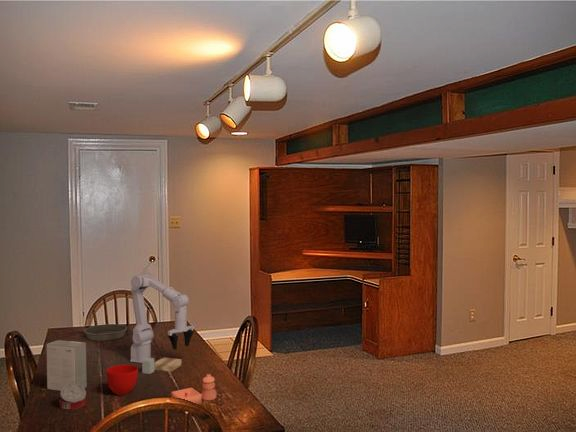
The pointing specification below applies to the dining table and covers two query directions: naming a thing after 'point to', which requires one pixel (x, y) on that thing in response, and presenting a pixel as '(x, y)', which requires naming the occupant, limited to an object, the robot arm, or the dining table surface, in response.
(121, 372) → the ceramic cup
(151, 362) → the gray block
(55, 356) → the hard drive box
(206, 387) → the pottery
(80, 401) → the canned food
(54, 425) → the dining table surface
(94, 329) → the cake pan
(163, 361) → the maple pedestal
